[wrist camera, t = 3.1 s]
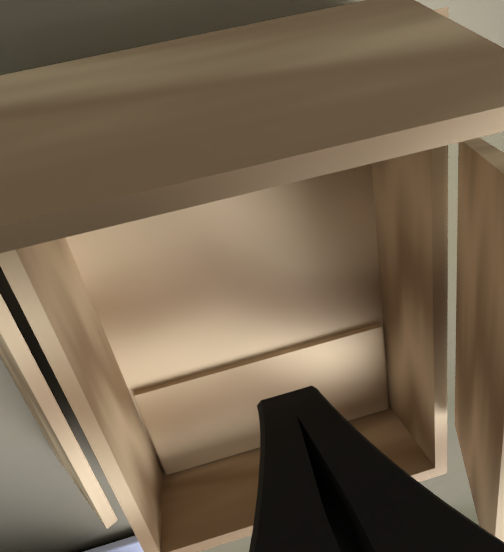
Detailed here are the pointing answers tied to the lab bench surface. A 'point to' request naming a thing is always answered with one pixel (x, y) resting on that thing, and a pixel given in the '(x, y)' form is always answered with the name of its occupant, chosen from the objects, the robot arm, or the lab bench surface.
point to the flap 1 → (236, 114)
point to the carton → (239, 338)
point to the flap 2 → (481, 328)
